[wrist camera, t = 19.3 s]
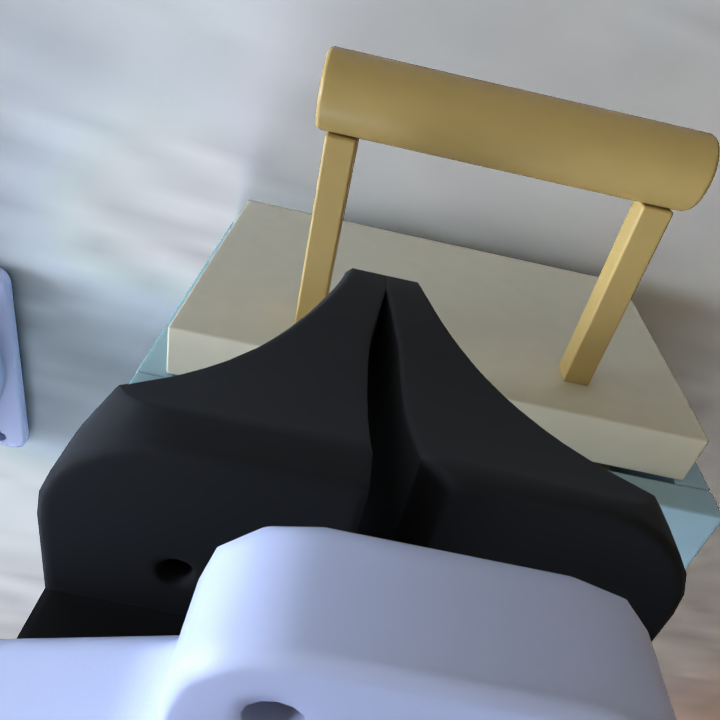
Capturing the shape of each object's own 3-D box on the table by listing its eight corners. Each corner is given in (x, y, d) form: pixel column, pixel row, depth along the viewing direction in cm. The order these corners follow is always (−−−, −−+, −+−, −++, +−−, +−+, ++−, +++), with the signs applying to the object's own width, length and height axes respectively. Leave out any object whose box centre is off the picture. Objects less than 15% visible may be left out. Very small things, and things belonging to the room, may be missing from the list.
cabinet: (231, 220, 21) (120, 393, 13) (617, 305, 21) (725, 518, 14) (200, 558, 30) (125, 773, 22) (469, 611, 30) (484, 839, 23)
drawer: (270, -12, 16) (178, 27, 10) (713, 91, 17) (879, 188, 11) (211, 543, 28) (152, 716, 22) (472, 595, 28) (485, 778, 22)
